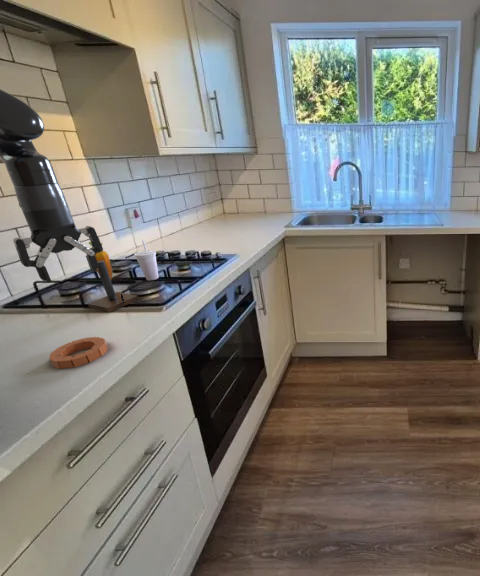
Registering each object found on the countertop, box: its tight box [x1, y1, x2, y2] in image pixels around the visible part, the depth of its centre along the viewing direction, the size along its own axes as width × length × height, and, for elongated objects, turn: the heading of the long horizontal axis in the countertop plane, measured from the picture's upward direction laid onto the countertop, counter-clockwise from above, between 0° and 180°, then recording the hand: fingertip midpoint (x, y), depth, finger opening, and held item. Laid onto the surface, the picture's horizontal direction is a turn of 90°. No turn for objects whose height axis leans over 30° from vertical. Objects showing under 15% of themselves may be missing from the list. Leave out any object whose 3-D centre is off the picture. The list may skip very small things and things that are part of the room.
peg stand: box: [87, 261, 139, 313], centre depth 106 cm, size 9×9×14 cm
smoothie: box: [134, 239, 160, 281], centre depth 125 cm, size 6×6×14 cm
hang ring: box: [49, 336, 108, 370], centre depth 83 cm, size 10×10×2 cm
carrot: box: [88, 241, 113, 281], centre depth 122 cm, size 5×5×15 cm
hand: (72, 276), depth 84 cm, fingers open, 8 cm apart
